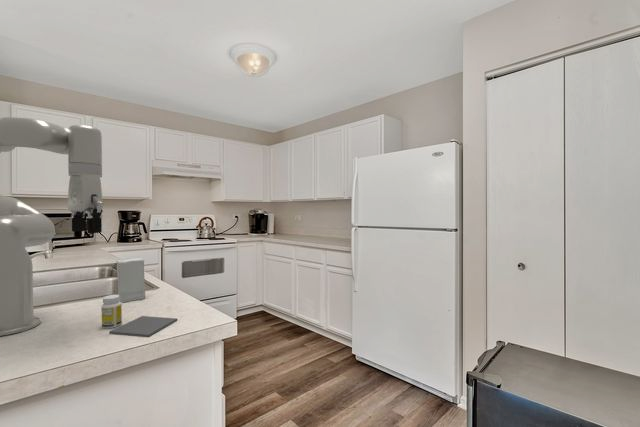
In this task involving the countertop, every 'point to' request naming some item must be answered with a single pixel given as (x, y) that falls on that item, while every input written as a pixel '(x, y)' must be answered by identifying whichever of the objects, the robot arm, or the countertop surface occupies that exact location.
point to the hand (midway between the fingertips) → (86, 232)
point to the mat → (143, 326)
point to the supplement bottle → (111, 311)
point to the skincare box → (131, 279)
